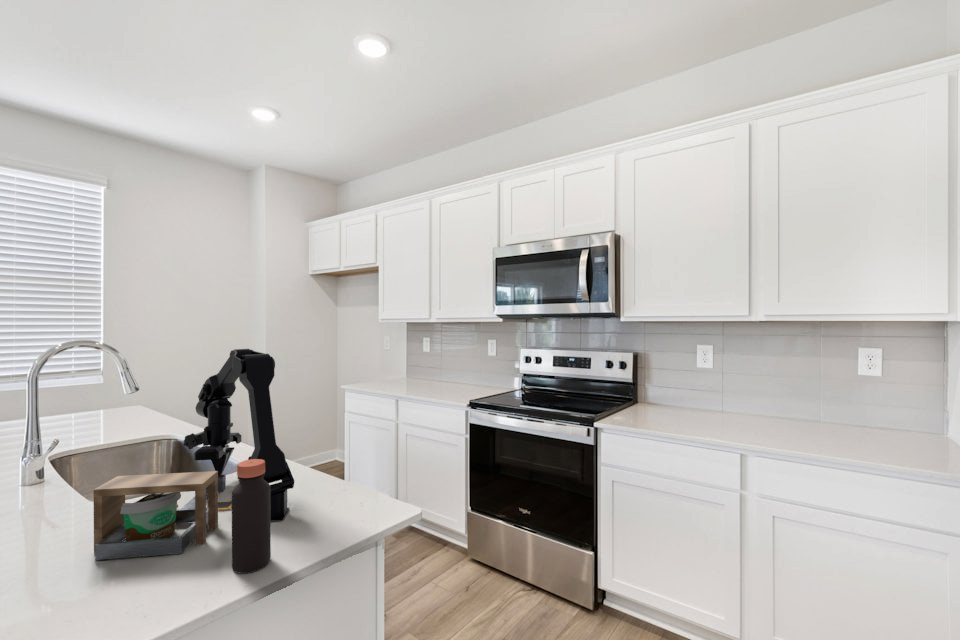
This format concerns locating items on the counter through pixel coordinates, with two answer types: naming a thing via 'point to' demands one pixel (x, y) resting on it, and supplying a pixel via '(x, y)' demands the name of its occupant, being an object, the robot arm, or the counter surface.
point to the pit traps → (224, 505)
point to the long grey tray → (119, 548)
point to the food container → (151, 516)
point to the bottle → (251, 518)
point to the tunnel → (114, 492)
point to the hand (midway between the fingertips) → (219, 475)
